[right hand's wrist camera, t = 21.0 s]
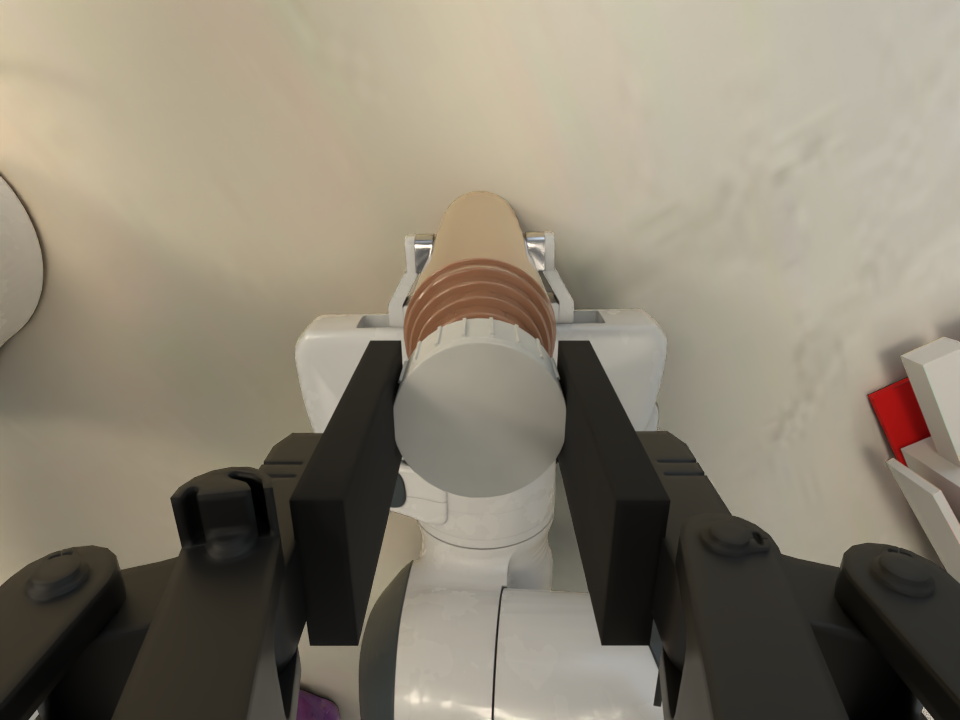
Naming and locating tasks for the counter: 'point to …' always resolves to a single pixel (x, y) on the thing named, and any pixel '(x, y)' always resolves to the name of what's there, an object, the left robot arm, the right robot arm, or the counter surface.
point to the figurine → (315, 708)
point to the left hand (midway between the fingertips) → (478, 234)
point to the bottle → (479, 274)
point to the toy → (928, 442)
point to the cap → (479, 409)
